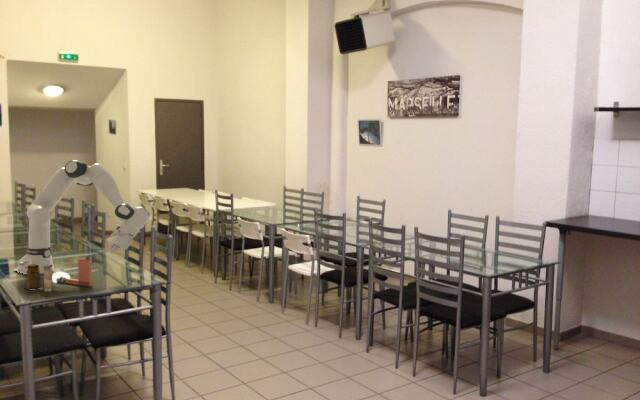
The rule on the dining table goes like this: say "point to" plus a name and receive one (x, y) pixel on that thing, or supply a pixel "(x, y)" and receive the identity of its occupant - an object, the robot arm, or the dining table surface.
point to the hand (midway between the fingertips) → (109, 252)
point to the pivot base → (61, 280)
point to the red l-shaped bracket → (82, 273)
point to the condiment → (33, 277)
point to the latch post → (48, 277)
